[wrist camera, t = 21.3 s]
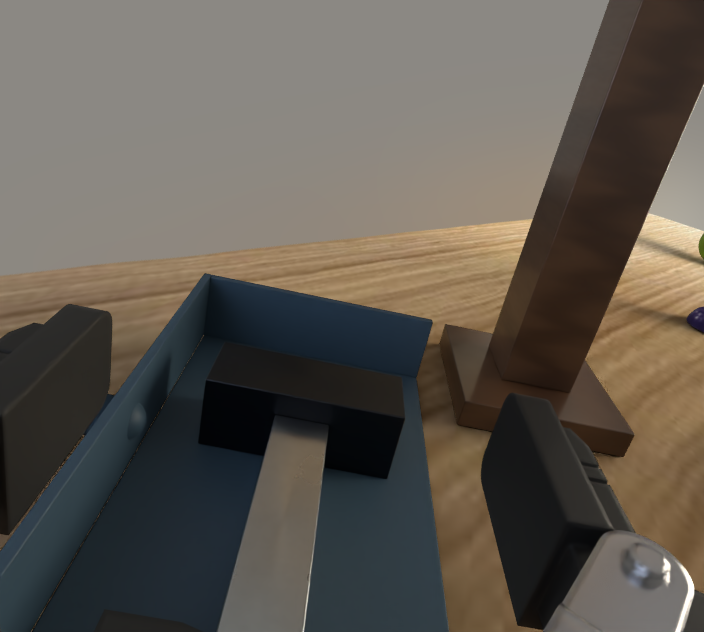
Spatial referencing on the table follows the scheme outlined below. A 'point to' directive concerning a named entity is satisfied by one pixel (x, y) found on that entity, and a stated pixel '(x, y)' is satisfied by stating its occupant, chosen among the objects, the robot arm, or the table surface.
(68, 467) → the scoop
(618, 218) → the stand
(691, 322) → the toy lamp
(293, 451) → the t-shaped mallet
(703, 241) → the snail figurine
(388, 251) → the table surface
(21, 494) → the robot arm
